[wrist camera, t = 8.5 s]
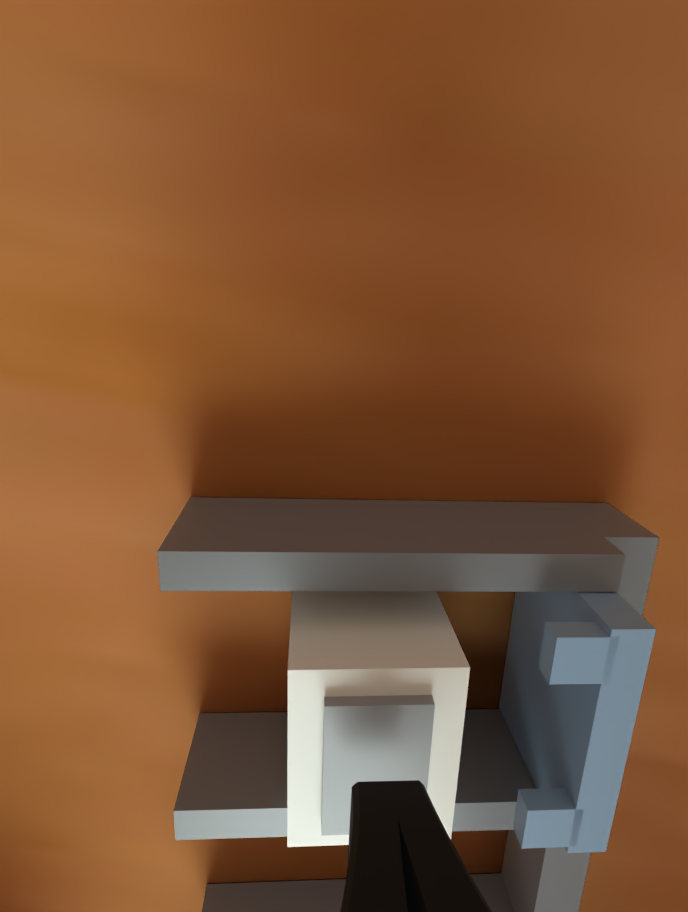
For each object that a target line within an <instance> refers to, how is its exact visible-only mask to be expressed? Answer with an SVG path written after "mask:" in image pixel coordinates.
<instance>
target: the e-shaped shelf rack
mask: <svg viewBox="0 0 688 912" xmlns="http://www.w3.org/2000/svg"><path fill="white" fill-rule="evenodd" d="M658 541H659V537H658V536H656V535H655V534H653V533H652V532H650V531H649V530H647V529H646V528H644V527H643V526H641V525H640V524H638V523H637V522H635V521H634V520H632V519H631V518H629V517H628V516H626V515H625V514H623V513H622V512H620V511H619V510H617V509H616V508H614V507H613V506H611V505H610V504H608V503H563V502H492V501H421V500H350V499H279V498H208V497H190V499H189V501H188V502H187V504H186V506H185V507H184V509H183V510H182V512H181V514H180V515H179V517H178V519H177V520H176V522H175V524H174V525H173V527H172V529H171V530H170V532H169V533H168V535H167V537H166V538H165V540H164V542H163V543H162V545H161V547H160V548H159V550H158V566H159V582H160V591H482V592H515V598H514V605H513V612H512V619H511V626H510V633H509V640H508V647H507V654H506V661H505V668H504V676H503V683H502V690H501V697H500V704H499V709H468V710H465V718H464V727H463V736H462V745H461V754H460V763H459V772H458V781H457V790H456V799H455V808H454V817H453V826H452V832H454V831H486V830H508V834H507V841H506V847H505V853H504V859H503V866H502V872H501V873H497V874H470V875H471V877H472V879H473V880H474V882H475V884H476V885H477V887H478V889H479V890H480V892H481V894H482V896H483V897H484V899H485V901H486V902H487V904H488V906H489V907H490V909H491V910H492V912H578V911H579V906H580V902H581V897H582V892H583V888H584V883H585V878H586V874H587V869H588V865H589V860H590V855H591V852H606V849H607V844H608V840H609V835H610V831H611V827H612V822H613V818H614V813H615V809H616V804H617V800H618V796H619V791H620V787H621V782H622V778H623V773H624V769H625V765H626V760H627V756H628V751H629V747H630V743H631V738H632V734H633V729H634V725H635V720H636V716H637V712H638V707H639V703H640V698H641V694H642V689H643V685H644V681H645V676H646V672H647V667H648V663H649V659H650V654H651V650H652V645H653V641H654V636H655V632H656V629H655V628H654V627H653V626H652V625H651V624H650V623H649V622H648V621H647V620H646V619H645V618H644V617H642V615H643V611H644V606H645V601H646V597H647V592H648V587H649V583H650V578H651V574H652V569H653V564H654V560H655V555H656V550H657V546H658ZM287 760H288V712H259V713H200V714H199V717H198V721H197V725H196V729H195V732H194V736H193V740H192V744H191V748H190V751H189V755H188V759H187V763H186V766H185V770H184V774H183V778H182V781H181V785H180V789H179V793H178V796H177V800H176V804H175V808H174V825H175V840H195V839H228V838H260V837H287ZM345 882H346V879H334V880H307V881H280V882H252V883H225V884H207V886H206V891H205V897H204V903H203V908H202V912H340V911H341V906H342V901H343V895H344V889H345Z"/></svg>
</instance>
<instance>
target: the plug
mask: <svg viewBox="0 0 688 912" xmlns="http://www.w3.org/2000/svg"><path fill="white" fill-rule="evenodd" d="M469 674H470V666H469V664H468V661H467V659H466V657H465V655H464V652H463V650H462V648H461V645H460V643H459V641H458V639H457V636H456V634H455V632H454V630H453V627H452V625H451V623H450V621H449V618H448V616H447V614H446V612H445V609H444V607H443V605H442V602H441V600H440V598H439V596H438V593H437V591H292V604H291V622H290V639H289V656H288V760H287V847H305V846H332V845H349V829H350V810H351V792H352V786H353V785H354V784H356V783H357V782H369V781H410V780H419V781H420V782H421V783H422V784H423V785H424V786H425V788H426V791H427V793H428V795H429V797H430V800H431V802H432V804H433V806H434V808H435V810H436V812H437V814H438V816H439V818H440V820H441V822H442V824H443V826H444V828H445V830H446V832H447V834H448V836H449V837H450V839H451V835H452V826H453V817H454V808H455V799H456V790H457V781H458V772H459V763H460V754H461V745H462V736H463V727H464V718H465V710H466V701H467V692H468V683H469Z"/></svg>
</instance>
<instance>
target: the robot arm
mask: <svg viewBox="0 0 688 912" xmlns="http://www.w3.org/2000/svg"><path fill="white" fill-rule="evenodd" d="M340 912H492V910H491V909H490V907H489V906H488V904H487V902H486V901H485V899H484V897H483V896H482V894H481V892H480V890H479V889H478V887H477V885H476V884H475V882H474V880H473V879H472V877H471V875H470V874H469V872H468V870H467V868H466V867H465V865H464V863H463V861H462V860H461V858H460V856H459V854H458V852H457V851H456V849H455V847H454V845H453V843H452V841H451V839H450V837H449V836H448V834H447V832H446V830H445V828H444V826H443V824H442V822H441V820H440V818H439V816H438V814H437V812H436V810H435V808H434V806H433V804H432V802H431V800H430V797H429V795H428V793H427V791H426V788H425V786H424V785H423V784H422V783H421V782H420V781H419V780H410V781H369V782H357V783H356V784H354V785H353V786H352V792H351V810H350V829H349V847H348V870H347V876H346V882H345V889H344V895H343V901H342V906H341V911H340Z"/></svg>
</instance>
